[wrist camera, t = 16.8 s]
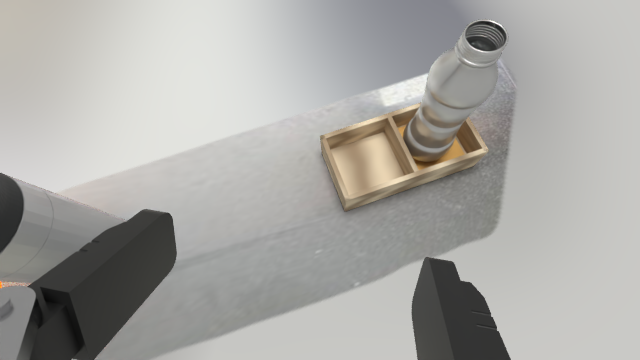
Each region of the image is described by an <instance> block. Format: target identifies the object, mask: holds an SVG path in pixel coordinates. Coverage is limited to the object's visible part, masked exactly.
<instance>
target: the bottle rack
mask: <svg viewBox="0 0 640 360" xmlns="http://www.w3.org/2000/svg"><path fill="white" fill-rule="evenodd" d="M420 105H421V103H418V104H415V105H412V106H409V107H406V108H403V109H400V110H397V111H394V112H391V113H388V114H385V115H382V116H379V117H376V118H373V119H370V120H367V121H364V122H361V123H358V124H355V125H352V126H349V127H346V128H343V129H340V130H337V131H334V132H331V133H328V134H325V135H322V136H320V140H321V150H322V154H323V157H324V159H325V162H326V165H327V167H328V170H329V172H330V175H331V177H332V180H333V183H334V185H335V188H336V190H337V193H338V195H339V198H340V200H341V203H342V206H343V208H344V211H348V210H351V209H354V208H357V207H360V206H362V205H365V204H368V203H371V202H374V201H377V200H379V199H382V198H385V197H388V196H391V195H394V194H396V193H399V192H402V191H405V190H408V189H411V188H413V187H416V186H419V185H422V184H425V183H428V182H430V181H433V180H436V179H439V178H442V177H445V176H447V175H450V174H453V173H456V172H459V171H462V170H464V169H467V168H470V167H473V166H474V165H475V164H476V163H477V162H478V161H479V160H480V159H481V158H482V157H483V156H484V155H485V154H486V153H487V152H489V150H488V148H487V146H486V145H485V143H484V141H483V140H482V138H481V137H480V135H479V133H478V132H477V130H476V128H475V127H474V125H473V123H472V122H471V120H470V118H469V117H468V118H467V119H466V120H465V121H464V123H463V124H462V125H461V127H460V129H459V130H458V132H457V134H456V137H455V140H454V142H453V145H452V147H451V149H450V150H449V151H448V152H447V153H446V154H445V155H444V156H442V157H441V158H439V159H437V160H435V161H432V162H422V161H418V160H416V159H414V158H412V156H411V154H410V152H409V150H408V148H407V146H406V144H405V142H404V140H403V132H404V129H405V127H406V126H407V124H408V123H409V121H410V120H411V119H412V118H413V117H414V116H415V114H416V112H417V111H418V109H419V107H420Z"/></svg>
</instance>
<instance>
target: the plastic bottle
mask: <svg viewBox="0 0 640 360" xmlns="http://www.w3.org/2000/svg"><path fill="white" fill-rule="evenodd" d="M507 42H508V33H507V31H506V29H505V28H504V27H503V26H502V25H501V24H499V23H497V22H495V21H492V20H487V19H482V20H476V21H473V22H471V23H470V24H468V25H467V27H466V28H465V29H464V31H463V33H462V35H461V37H460V38H459V40H458V41H457V43H456V46H455V47H454V48H451V49H449V50H448V51H446V52H444V53H443V54H441V56H440V57H439V58H438V59H437V60H436V61H435V62H434V63H433V65H432V66H431V68H430V71H429V75H428V78H427V83H426V88H425V93H424V96H423V99H422V102H421V105H420V107H419V109H418V111H417V112H416V114H415V116H414V117H413V118H412V119H411V120H410V121H409V123H408V124H407V126H406V127H405V129H404V132H403V140H404V142H405V144H406V146H407V148H408V150H409V152H410V154H411V156H412V158H414V159H416V160H418V161H422V162H432V161H435V160H437V159H439V158H441V157H442V156H444V155H445V154H446V153H447V152H448V151H449V150H450V149H451V147H452V145H453V142H454V140H455V137H456V134H457V132H458V130H459V129H460V127H461V125H462V124H463V123H464V121H465V120H466V119H467V118H468V117H469V116H470V114H471V113H473V112H474V111H475V110H476V109H477V108H478V107H479V106H480V105H481V104H482V103H484V102H485V101H486V100H487V99H488V97H489V96H490V95H491V94H492V93H493V91H494V89H495V87H496V84H497V80H498V67H497V63H496V62H497V61H498V59H499V58H500V56H501V54H502V51H503V50H504V48H505V46H506V44H507Z"/></svg>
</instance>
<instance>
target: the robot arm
mask: <svg viewBox="0 0 640 360" xmlns="http://www.w3.org/2000/svg"><path fill="white" fill-rule="evenodd" d="M176 254H177V252H176V243H175V235H174V226H173V219H172V216H171V215H170V214H169V213H166V212H160V211H154V210H148V209H144V210H142V211H140V212H139V213H138V214H136V215H135V216H133V217H132V218H131V219H129V220H128V221H126V220H123V219H121V218H118V217H115V216H113V215H110V214H107V213H105V212H103V211H100V210H97V209H95V208H92V207H89V206H87V205H84V204H81V203H79V202H76V201H74V200H71V199H68V198H66V197H63V196H60V195H58V194H55V193H53V192H50V191H47V190H45V189H42V188H39V187H37V186H34V185H31V184H29V183H26V182H23V181H21V180H18V179H15V178H13V177H10V176H7V175H5V174H2V173H0V282H18V283H32V284H30V285H29V286H27V287H26V286H9V287H3V288H0V360H71V359H72V358H73V359H77V360H94V359H95V358H96V357H97V355H98V354H99V353H100V352H101V351H102V350H103V348H104V347H105V346H106V345H107V344H108V343H109V342H110V340H111V339H112V338H113V337H114V336H115V335H116V333H117V332H118V331H119V330H120V329H121V328H122V327H123V325H124V324H125V323H126V322H127V321H128V320H129V318H130V317H131V316H132V315H133V314H134V313H135V312H136V310H137V309H138V308H139V307H140V306H141V305H142V303H143V302H144V301H145V300H146V299H147V298H148V297H149V295H150V294H151V293H152V292H153V291H154V290H155V288H156V287H157V286H158V285H159V284H160V283H161V282H162V280H163V279H164V278H165V277H166V276H167V275H168V273H169V272H170V271H171V270H172V268H173V266H174V263H175V260H176ZM412 321H413V329H414V336H415V342H416V350H417V357H418V360H511V359H510V357H509V355H508V352H507V350H506V347H505V345H504V343H503V340H502V338H501V336H500V333H499V331H497V326H496V324H495V322H494V319H493V317H491V313H490V310H489V308H488V305H487V303H486V301H485V298H484V297H483V296H482V295H481V293H480V292H479V291H478V290H477V289H476V288H475V287H474V286H473V285H472V283H470V282H464V281H460V278H459V275H458V272H457V270H456V267H455V264H454V263H453V262H452V261H446V260H441V259H435V258H429V257H426V258H425V259H424V261H423V265H422V268H421V272H420V275H419V278H418V282H417V285H416V289H415V292H414V296H413V301H412Z"/></svg>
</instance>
